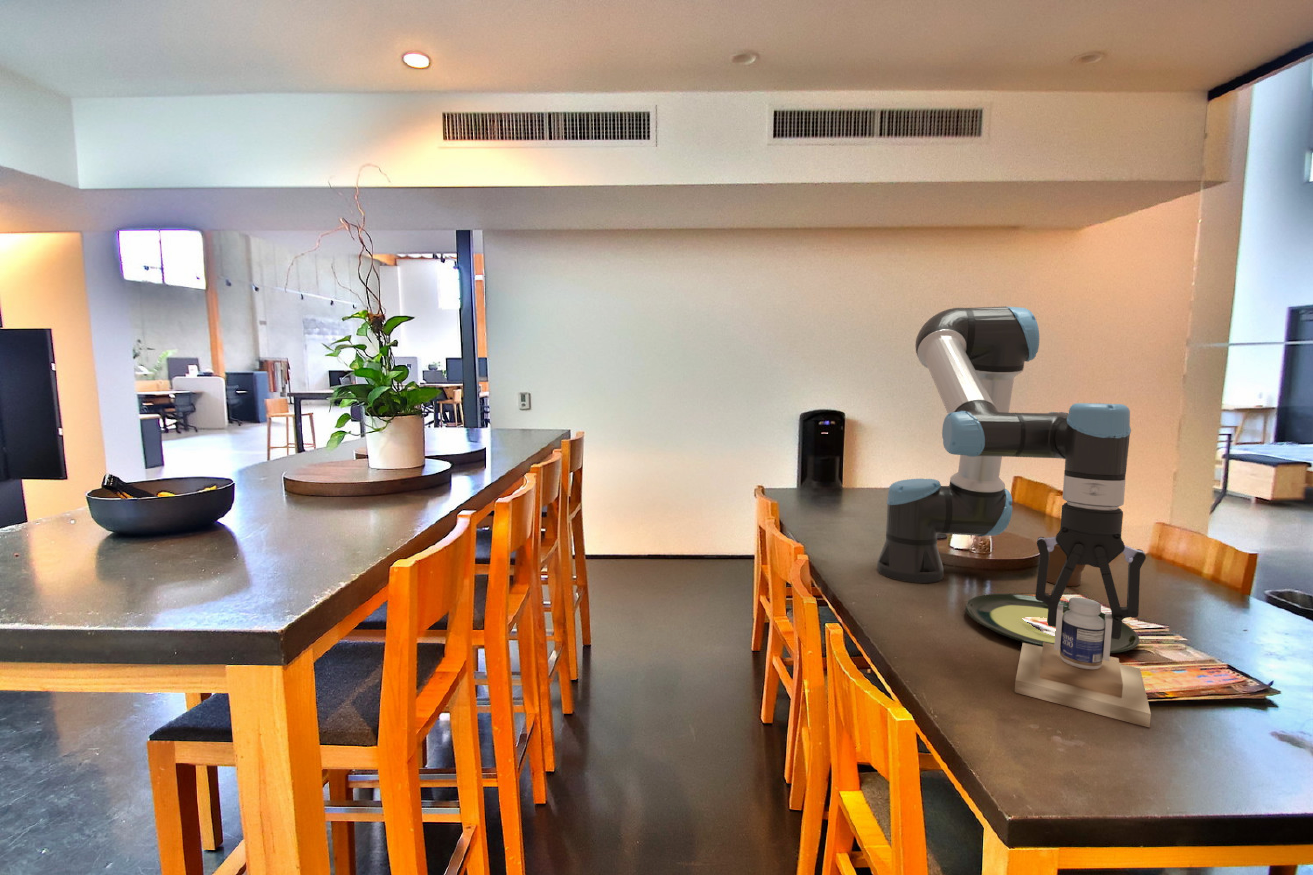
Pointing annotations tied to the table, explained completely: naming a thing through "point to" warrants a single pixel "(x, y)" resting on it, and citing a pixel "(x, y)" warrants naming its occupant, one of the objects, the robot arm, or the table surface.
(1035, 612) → the plate
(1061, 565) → the mug
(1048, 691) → the base
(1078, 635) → the pill bottle
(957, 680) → the table surface
